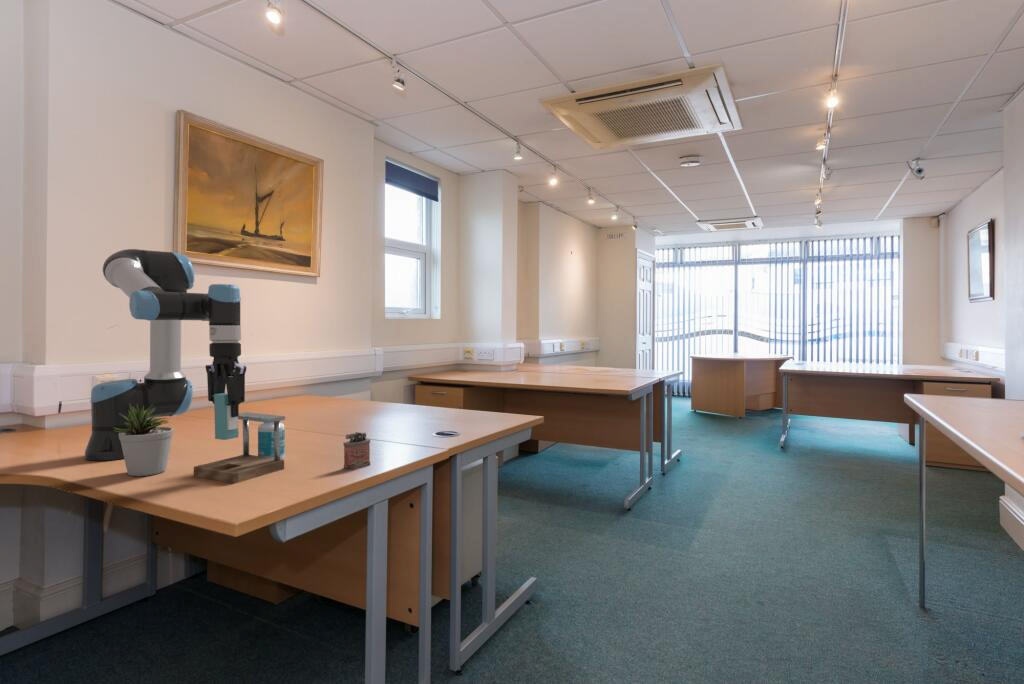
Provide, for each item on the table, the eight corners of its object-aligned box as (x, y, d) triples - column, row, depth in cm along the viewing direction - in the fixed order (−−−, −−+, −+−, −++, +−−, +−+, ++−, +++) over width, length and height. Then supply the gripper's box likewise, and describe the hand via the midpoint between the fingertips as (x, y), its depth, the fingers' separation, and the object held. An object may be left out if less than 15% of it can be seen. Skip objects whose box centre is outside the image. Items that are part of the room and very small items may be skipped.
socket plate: (193, 475, 145) (193, 466, 145) (245, 462, 160) (245, 454, 159) (233, 483, 138) (233, 474, 138) (284, 468, 153) (284, 460, 153)
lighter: (366, 463, 159) (366, 429, 159) (372, 465, 157) (372, 431, 156) (341, 468, 154) (341, 433, 153) (347, 470, 151) (346, 435, 151)
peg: (215, 438, 144) (214, 394, 144) (228, 436, 147) (227, 392, 147) (225, 440, 142) (224, 395, 142) (238, 437, 146) (237, 393, 145)
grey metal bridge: (230, 466, 155) (229, 414, 155) (247, 462, 160) (246, 412, 160) (269, 473, 148) (268, 419, 148) (285, 468, 153) (285, 416, 153)
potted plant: (113, 471, 149) (112, 400, 148) (171, 464, 157) (170, 396, 157) (114, 482, 139) (112, 405, 138) (176, 473, 147) (175, 401, 147)
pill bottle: (274, 464, 157) (274, 418, 157) (252, 463, 159) (251, 417, 159) (290, 458, 165) (289, 414, 164) (268, 457, 166) (268, 413, 166)
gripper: (191, 342, 144) (192, 428, 145) (234, 342, 137) (235, 433, 138) (217, 341, 151) (218, 423, 152) (259, 341, 144) (260, 428, 144)
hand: (226, 428), depth 145 cm, fingers closed on peg, 4 cm apart
